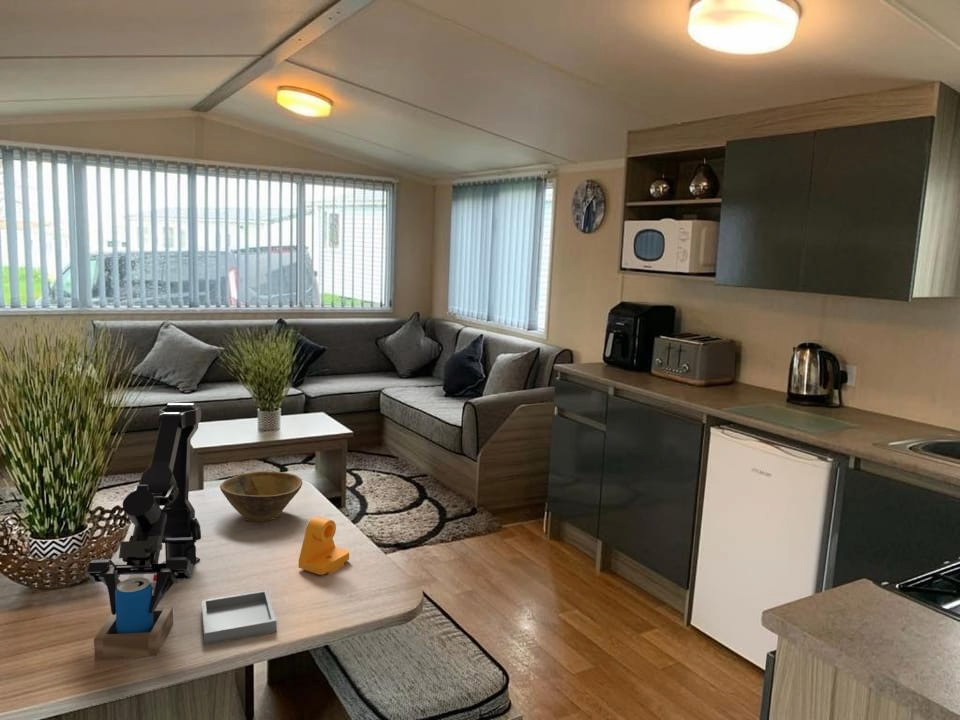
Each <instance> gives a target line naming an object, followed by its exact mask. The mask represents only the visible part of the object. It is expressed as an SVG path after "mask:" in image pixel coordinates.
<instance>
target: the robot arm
mask: <svg viewBox="0 0 960 720" xmlns="http://www.w3.org/2000/svg"><path fill="white" fill-rule="evenodd" d="M158 414H159V416H158V426H159V428H158V433H157V437H156V442H155V446H154V448H153V449H154V450H153V454H152V458H151V463H150V465H149V467H148V468H147V469H145V471H144V472H142V474H141V476H140V479H139V483H138V484H137V485H136V486H135V488H134V489H133V491H131V492H130V493H128V494H127V495H126V496H125V498H124V499H123V501H122V509H123V512H124V513H125V514H126V516H127V517H128V519H129V520H130V522H131V523H132V524H133V525H134V526H133V527H134V528H133V532H132V535H130V537H129V539H128V541H125V540H124V541H120V544H119V545H120V546H119V554H118V559H121V560H122V561H123V563H125V564H115V563H114V562H113V561H112V559H110V558H108V559H105V558H103V559H91V560H90V561H89V562H88V564H87V565H86V568H85V572H84V573H85V574H86V576H87V577H89V579H91V581H92V582H94V583H103V584H104V585H105V586H106V589H107V591H108V597H109V598H108V599H109V605H110V612H111V614H113V615H115V614H116V606H115V591H116V589H117V585H118V584H119V583H120V582H121V581H120V580H119V579H120V577H121V576H122V575H130V574H157V579H156V585H155V588H154V589H153V592H152V600H151V604H150V611H149V612H150V613H153V612H154V610H155V609H156V607H159V604H160V602H161V601H162V599H163V598H164V597H165V595H166V593H167V592H168V591H169V590H170V589H171V587H172V586H173V585H174V584H176V585H177V584H178V583H179V580H178V579H184V580H191V579H192V578H193V572H194V567H193V566H194V564H195V563H197V562H200V561H201V557H197V547H196V546H197V545H195V543H196V542H197V541H199V540H201V539H202V530H201V524H200V523H199V519H197V517H196V510H195V508H194V506H193V505H192V504H191V501H190V500H189V489H190V485H189V484H190V466H191V465H190V464H191V463H190V461H191V443H192V442H191V441H192V440H191V439H192V438H193V437H194V435H195V434H196V432H197V430H198V429H199V423H200V422H201V420H202V419H201V418H202V409H201V407H199V406H197V404H196V402H169V403H167V405H166V407H162V408H160V409H159V412H158ZM161 506H163V507H162V508H161ZM163 544H164V546H165V548H164V550H165V561H162V562H161V563H159V560H160V554H161V553H160V552H161V551H162V550H163Z"/></svg>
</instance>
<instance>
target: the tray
mask: <svg viewBox="0 0 960 720" xmlns="http://www.w3.org/2000/svg"><path fill="white" fill-rule="evenodd" d="M200 602H201V617H202V628H203V629H202V630H203V640H204V642H203V643H204V646H207V645H208V646H209V645H212V644H218V643H224V642H229V641H235V640H240V639H244V638H245V639H246V638H251V637H256V636H263V635H267V634H273V633H277V618H276V615H275V614H276V613H275V610H274V606H273V603H272V600H271V597H270V591H269V590H268V589H263V590H256V591H252V592H251V591H250V592H245V593H238V594H233V595H232V594H231V595H224V596H220V597H218V596H217V597H213V598H206V599H202V600H201V601H200Z"/></svg>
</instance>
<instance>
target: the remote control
mask: <svg viewBox="0 0 960 720" xmlns="http://www.w3.org/2000/svg"><path fill="white" fill-rule="evenodd" d="M134 577H144V578H147V579H148V580H149V583H150V584H151V585H152V589H153V588H154V589H155V585H156V579H157V574H130V575H120V577H119V580H120V581H121V582H122V581H124V580H126V579H129V578H134ZM184 580H185V579H178V581H184Z"/></svg>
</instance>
